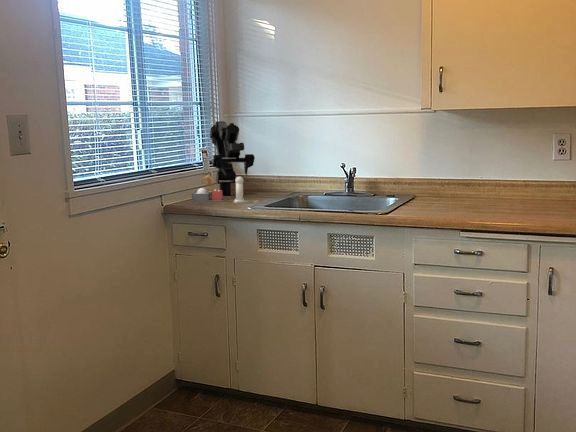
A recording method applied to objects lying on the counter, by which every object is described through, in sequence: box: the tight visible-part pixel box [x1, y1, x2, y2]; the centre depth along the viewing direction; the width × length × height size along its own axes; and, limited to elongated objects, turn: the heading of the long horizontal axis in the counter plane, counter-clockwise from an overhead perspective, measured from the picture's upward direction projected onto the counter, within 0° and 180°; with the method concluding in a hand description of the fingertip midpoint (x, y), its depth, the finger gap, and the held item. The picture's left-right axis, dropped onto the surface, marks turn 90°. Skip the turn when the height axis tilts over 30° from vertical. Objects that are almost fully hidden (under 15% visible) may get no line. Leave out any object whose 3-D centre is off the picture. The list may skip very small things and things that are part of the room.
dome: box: [195, 187, 209, 194], centre depth 289 cm, size 6×6×5 cm
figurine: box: [201, 173, 218, 192], centre depth 299 cm, size 8×6×12 cm
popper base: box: [190, 189, 229, 205], centre depth 289 cm, size 9×15×6 cm, turn 86°
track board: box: [233, 199, 267, 204], centre depth 284 cm, size 16×6×1 cm, turn 116°
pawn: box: [233, 175, 246, 204], centre depth 281 cm, size 5×5×11 cm
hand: (236, 174), depth 286 cm, fingers open, 9 cm apart
